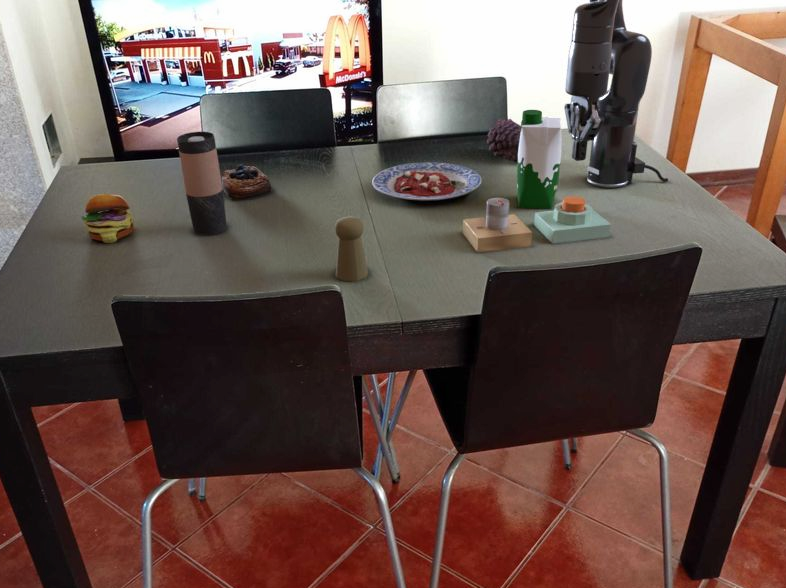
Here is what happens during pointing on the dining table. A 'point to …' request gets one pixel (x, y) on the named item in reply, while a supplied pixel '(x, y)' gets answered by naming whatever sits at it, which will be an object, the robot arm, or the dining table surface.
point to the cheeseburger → (108, 218)
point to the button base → (571, 225)
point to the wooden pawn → (350, 250)
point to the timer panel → (496, 234)
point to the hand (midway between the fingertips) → (578, 159)
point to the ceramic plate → (426, 181)
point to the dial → (497, 213)
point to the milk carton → (538, 160)
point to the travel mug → (202, 182)
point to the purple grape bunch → (505, 139)
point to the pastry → (245, 183)
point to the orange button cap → (573, 204)
